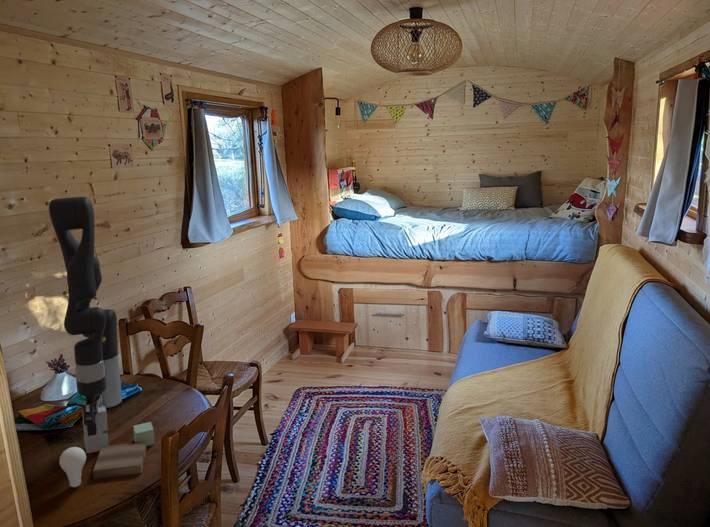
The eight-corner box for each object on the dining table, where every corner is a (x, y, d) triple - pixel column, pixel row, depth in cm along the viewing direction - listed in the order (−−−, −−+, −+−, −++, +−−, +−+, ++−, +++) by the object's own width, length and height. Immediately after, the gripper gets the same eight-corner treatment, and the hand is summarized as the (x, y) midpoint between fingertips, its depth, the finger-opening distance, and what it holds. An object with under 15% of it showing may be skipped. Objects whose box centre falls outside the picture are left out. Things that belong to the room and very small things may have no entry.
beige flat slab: (102, 455, 155) (101, 446, 154) (146, 450, 158) (146, 441, 157) (93, 480, 144) (92, 470, 143) (141, 475, 147) (140, 465, 146)
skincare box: (86, 454, 155) (83, 416, 152) (84, 447, 158) (81, 409, 155) (110, 448, 158) (106, 410, 155) (107, 441, 162) (104, 404, 159)
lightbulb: (68, 479, 143) (64, 442, 141) (92, 478, 144) (88, 442, 141) (58, 494, 137) (53, 455, 135) (83, 493, 138) (79, 455, 135)
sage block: (134, 440, 162) (133, 425, 161) (151, 436, 165) (150, 421, 164) (136, 448, 158) (135, 433, 157) (154, 444, 161) (153, 429, 159)
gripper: (81, 366, 159) (86, 416, 162) (70, 388, 145) (75, 441, 149) (109, 364, 161) (113, 414, 164) (100, 385, 147) (105, 438, 151)
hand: (95, 427), depth 157 cm, fingers open, 8 cm apart
